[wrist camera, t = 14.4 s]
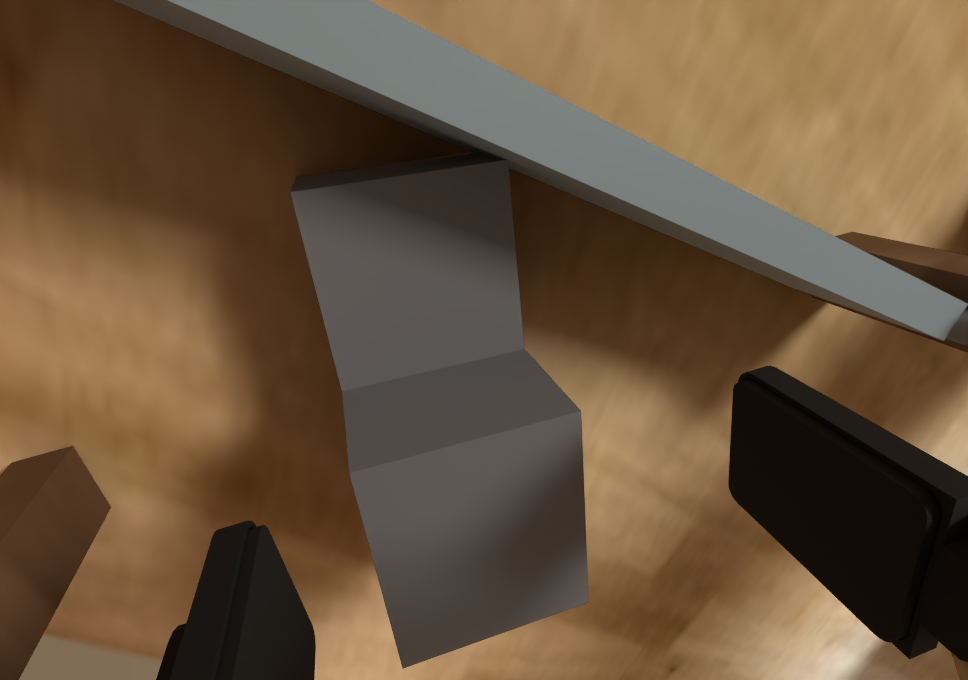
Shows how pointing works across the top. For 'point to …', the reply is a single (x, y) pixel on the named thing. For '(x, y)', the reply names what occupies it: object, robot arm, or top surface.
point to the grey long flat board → (554, 145)
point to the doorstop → (445, 400)
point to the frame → (82, 507)
